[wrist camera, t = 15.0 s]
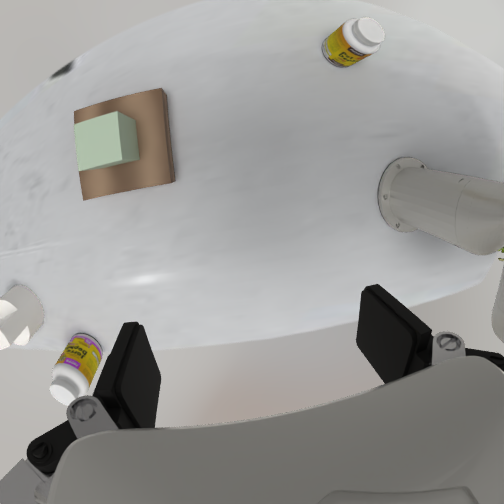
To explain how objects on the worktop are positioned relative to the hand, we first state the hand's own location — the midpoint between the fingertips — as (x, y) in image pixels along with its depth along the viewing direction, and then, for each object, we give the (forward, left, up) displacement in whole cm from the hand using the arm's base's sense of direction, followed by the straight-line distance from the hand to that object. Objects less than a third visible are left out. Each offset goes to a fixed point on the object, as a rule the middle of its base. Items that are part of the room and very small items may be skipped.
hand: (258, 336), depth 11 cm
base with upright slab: (+39, +11, -29) cm, 50 cm away
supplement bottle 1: (+28, +20, -28) cm, 45 cm away
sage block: (+12, -11, -24) cm, 29 cm away
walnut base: (+12, -11, -28) cm, 33 cm away
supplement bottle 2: (-19, -23, -28) cm, 41 cm away
